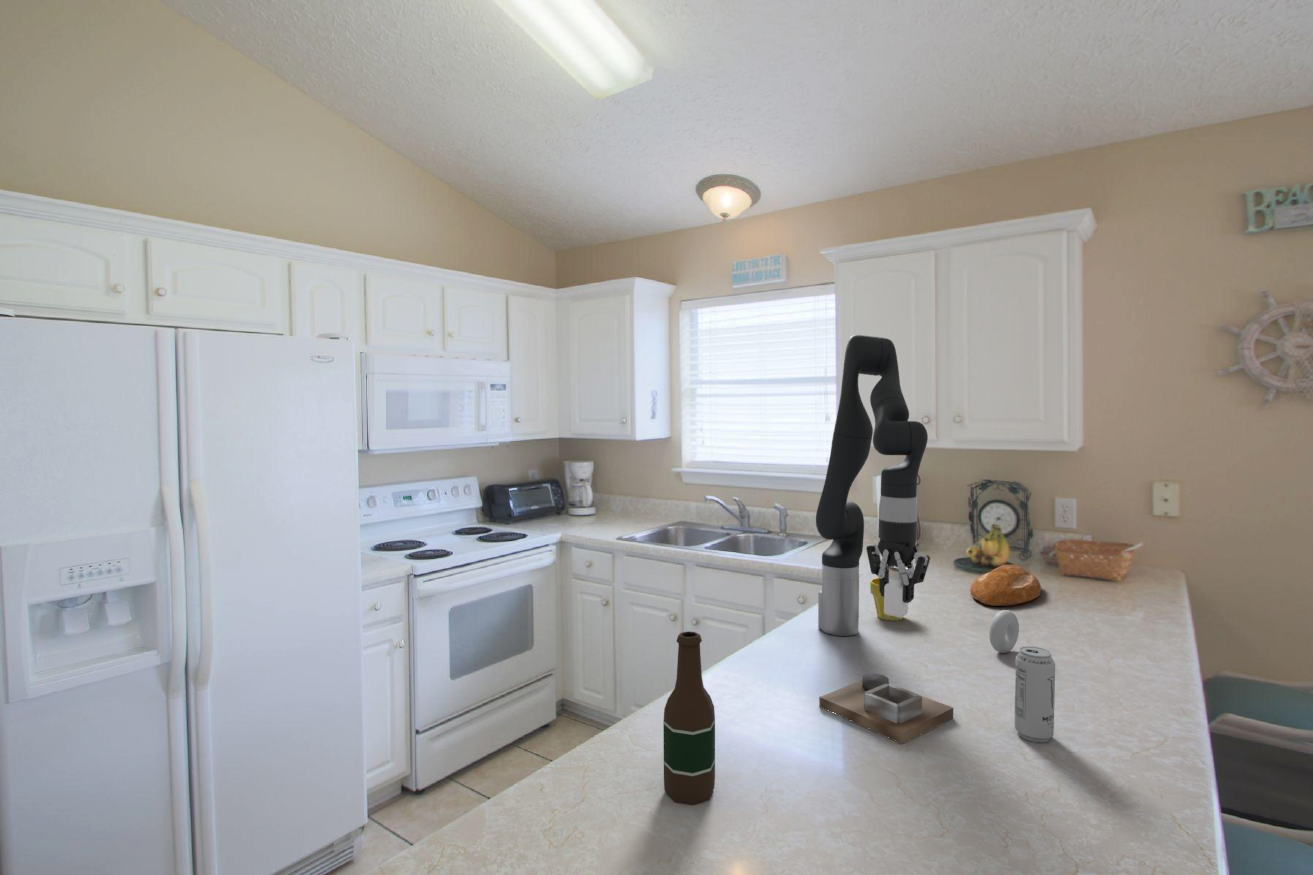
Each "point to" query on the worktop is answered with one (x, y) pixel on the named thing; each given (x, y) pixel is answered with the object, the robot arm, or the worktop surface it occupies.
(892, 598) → the salt shaker
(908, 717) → the carrier board
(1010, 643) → the donut
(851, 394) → the robot arm
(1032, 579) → the bread
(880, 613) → the plant pot
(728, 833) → the worktop surface
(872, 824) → the worktop surface
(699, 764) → the beer bottle
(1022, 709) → the energy drink can
